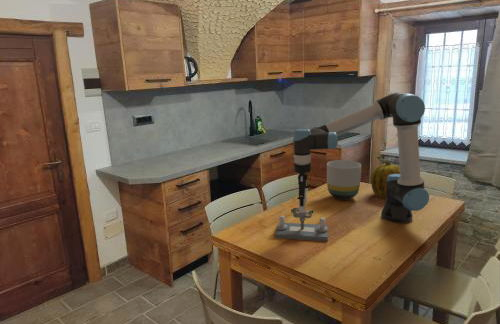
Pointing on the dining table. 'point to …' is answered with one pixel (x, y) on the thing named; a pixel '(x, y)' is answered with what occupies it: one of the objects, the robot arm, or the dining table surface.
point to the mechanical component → (301, 215)
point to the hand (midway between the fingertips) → (303, 207)
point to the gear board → (307, 233)
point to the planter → (343, 178)
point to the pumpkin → (382, 177)
